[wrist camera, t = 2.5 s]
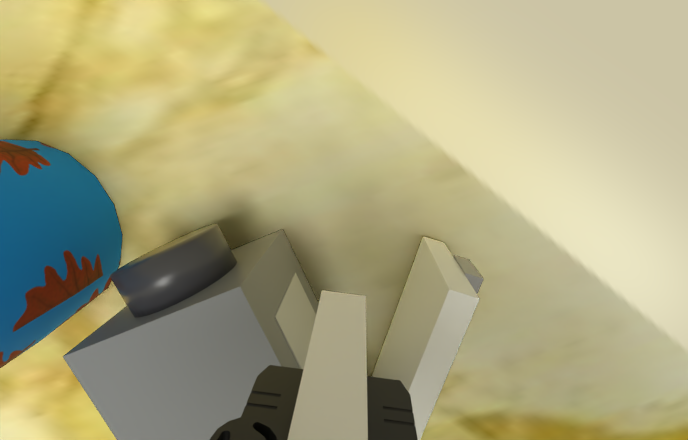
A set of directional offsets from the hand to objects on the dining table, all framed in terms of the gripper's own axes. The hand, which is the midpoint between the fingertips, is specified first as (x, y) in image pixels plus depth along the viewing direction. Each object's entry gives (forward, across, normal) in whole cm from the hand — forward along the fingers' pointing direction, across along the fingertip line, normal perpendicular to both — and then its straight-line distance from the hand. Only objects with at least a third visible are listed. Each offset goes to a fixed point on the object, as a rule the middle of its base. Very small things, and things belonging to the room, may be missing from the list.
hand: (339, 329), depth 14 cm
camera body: (+9, +4, +7) cm, 12 cm away
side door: (+9, -4, +4) cm, 11 cm away
